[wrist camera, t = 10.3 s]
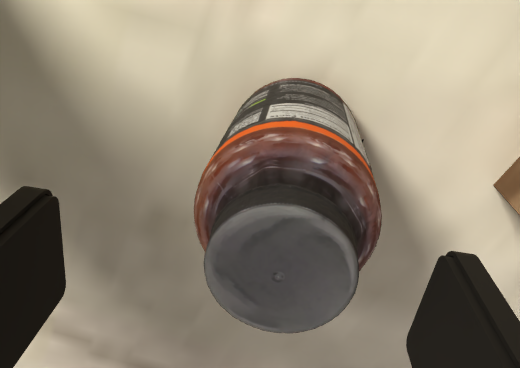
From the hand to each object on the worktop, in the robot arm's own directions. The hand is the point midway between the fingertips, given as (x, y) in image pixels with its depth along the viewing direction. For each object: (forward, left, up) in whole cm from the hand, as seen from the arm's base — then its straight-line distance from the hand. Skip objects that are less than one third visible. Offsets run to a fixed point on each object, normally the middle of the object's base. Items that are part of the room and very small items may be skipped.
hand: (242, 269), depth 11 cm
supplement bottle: (+1, -1, -12) cm, 12 cm away
